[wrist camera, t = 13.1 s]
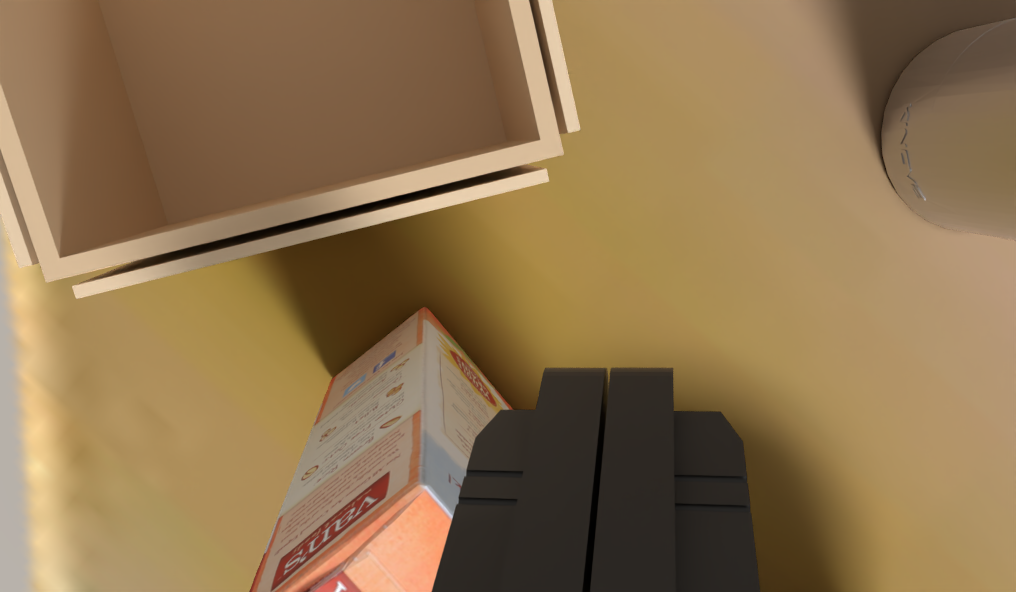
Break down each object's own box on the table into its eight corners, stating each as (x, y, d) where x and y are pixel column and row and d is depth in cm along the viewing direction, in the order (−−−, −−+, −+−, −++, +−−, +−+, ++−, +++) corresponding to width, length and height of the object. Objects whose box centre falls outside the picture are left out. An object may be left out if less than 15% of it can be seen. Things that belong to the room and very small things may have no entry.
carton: (460, -189, 37) (476, -347, 25) (541, 163, 39) (590, 171, 28) (39, -93, 36) (-151, -209, 24) (151, 260, 39) (30, 310, 27)
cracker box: (322, 383, 40) (215, 633, 20) (427, 300, 40) (430, 465, 19) (513, 602, 43) (596, 1025, 22) (613, 525, 43) (788, 880, 22)
